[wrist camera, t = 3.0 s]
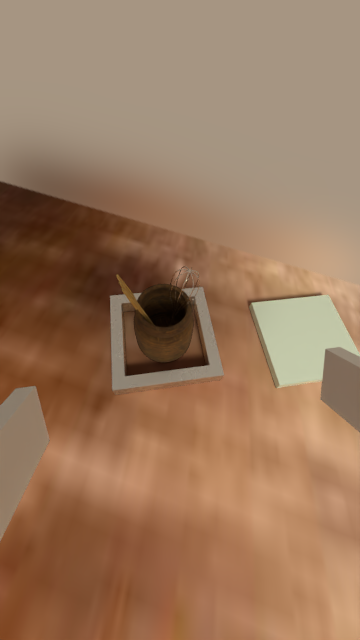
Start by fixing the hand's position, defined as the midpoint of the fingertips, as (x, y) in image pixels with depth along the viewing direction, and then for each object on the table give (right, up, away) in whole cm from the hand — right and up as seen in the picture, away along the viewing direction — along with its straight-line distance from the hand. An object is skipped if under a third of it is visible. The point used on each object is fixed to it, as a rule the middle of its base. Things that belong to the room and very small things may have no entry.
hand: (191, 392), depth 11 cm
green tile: (+14, +1, +18) cm, 23 cm away
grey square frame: (-2, +1, +17) cm, 17 cm away
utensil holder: (-2, +1, +17) cm, 17 cm away
